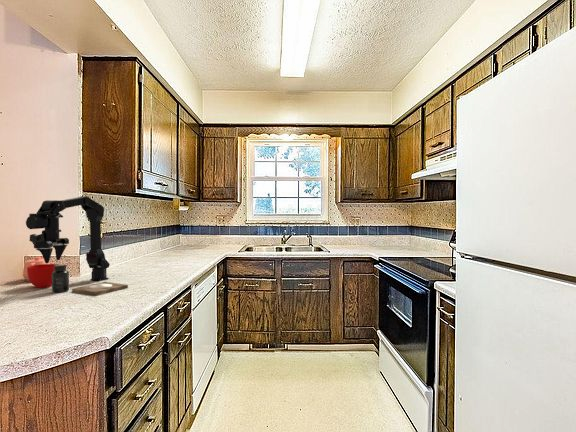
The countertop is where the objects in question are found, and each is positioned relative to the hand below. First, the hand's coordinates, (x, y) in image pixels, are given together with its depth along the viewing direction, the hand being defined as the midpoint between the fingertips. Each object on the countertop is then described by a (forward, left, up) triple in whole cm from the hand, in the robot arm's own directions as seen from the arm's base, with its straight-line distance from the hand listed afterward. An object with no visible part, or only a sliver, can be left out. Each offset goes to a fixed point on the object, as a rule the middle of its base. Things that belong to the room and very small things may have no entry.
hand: (52, 261), depth 173 cm
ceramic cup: (-4, -15, -14) cm, 21 cm away
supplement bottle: (-1, +4, -14) cm, 14 cm away
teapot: (-13, -34, -14) cm, 39 cm away
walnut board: (-11, +18, -14) cm, 25 cm away
